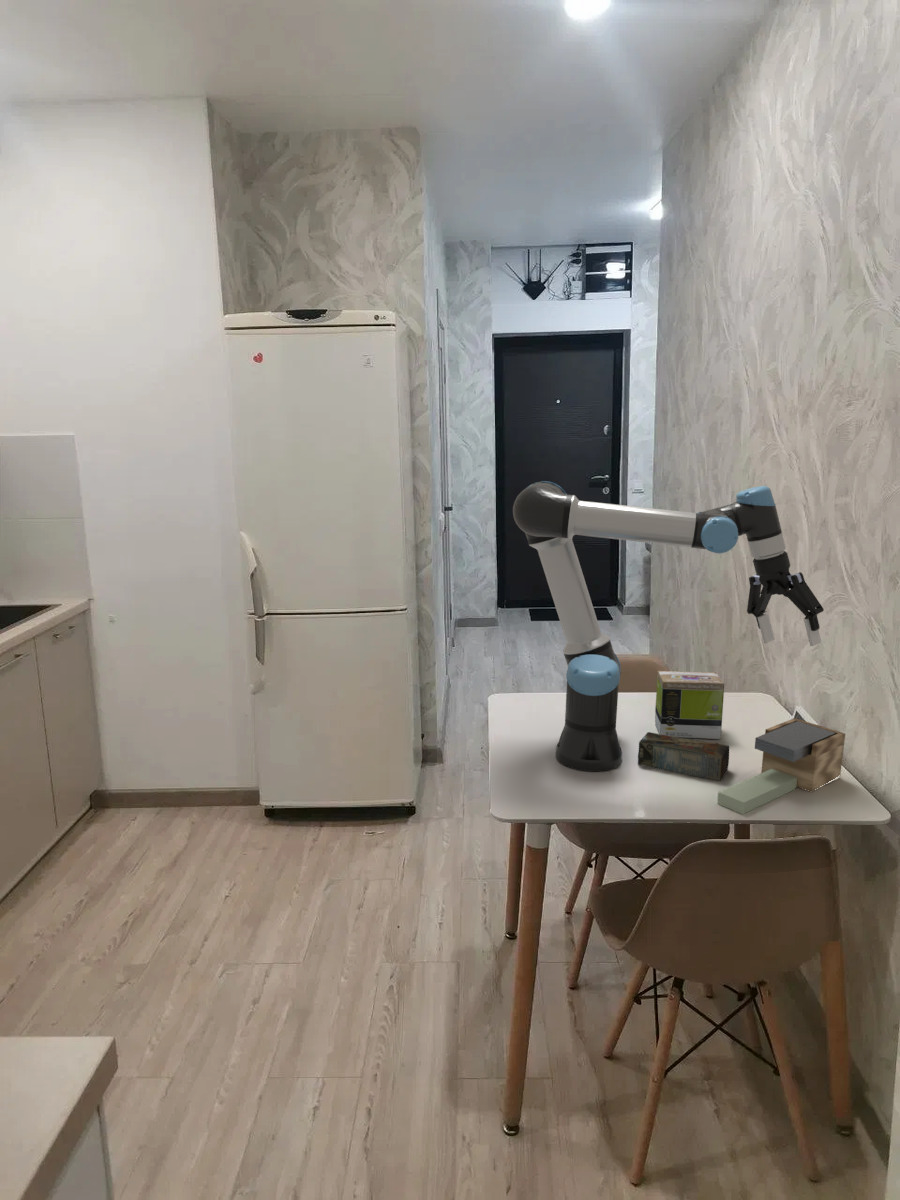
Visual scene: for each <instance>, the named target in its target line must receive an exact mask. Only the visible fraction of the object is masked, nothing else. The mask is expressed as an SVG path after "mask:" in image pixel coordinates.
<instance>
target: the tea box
mask: <svg viewBox="0 0 900 1200" xmlns="http://www.w3.org/2000/svg"><path fill="white" fill-rule="evenodd" d="M656 675H657V677H656V691H655V692H656V694H655V711H654V714H655V715H654V723H655V726H656V729H657V731H658V734H661V735H667V736H673V737H678V738H684V739H710V740H721V738H722V729H723V728H722V724H723V713H724V698H725V697H724V696H725V683H724V682H723V681H722V678H720V676H719V675H718V674H717V672H713V671H711V672H709V671H678V670H677V671H676V670H675V671H673V670H670V671H669V670H657V674H656Z"/></svg>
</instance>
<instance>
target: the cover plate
mask: <svg viewBox="0 0 900 1200" xmlns="http://www.w3.org/2000/svg"><path fill="white" fill-rule="evenodd" d="M834 735H836V733H835V732H831V731H828V730H825V729H821V728H818V727H815V726H812V725H808V724H805V723H802V722H799V721H797V722H794V723H792V724H789V725H787V726H784V727H782V728H779V729H776V730H774V731H771V732H769V733H766V734H765V733H764V734H761V735H759V736H757V737H755V741H754V749H755V750H757V751H759V752H766V753H769V754H772V755H775V756H777V757H780V758H783V759H786V760H789V761H792V762H794V761H796V760H799V759H801V758H803V757H805V756H808V755H810V754H811V753H812V745H813V744H815V743H817V742H820V741H822V740H824V739H827V738H829V737H831V736H834Z"/></svg>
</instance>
